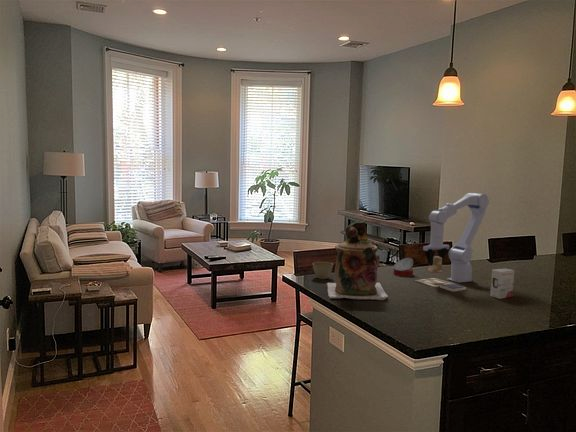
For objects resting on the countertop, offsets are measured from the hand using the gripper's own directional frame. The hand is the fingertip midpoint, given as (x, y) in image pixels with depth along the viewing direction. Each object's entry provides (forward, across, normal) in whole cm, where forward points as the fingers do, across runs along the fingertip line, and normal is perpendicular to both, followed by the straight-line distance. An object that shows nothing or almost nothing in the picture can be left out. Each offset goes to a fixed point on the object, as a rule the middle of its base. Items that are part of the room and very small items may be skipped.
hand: (435, 264), depth 235 cm
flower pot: (+9, +44, -30) cm, 54 cm away
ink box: (+9, -9, +30) cm, 33 cm away
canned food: (+9, +1, -22) cm, 23 cm away
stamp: (+3, 0, 0) cm, 3 cm away
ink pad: (+9, 0, +12) cm, 15 cm away
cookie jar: (+9, +46, +1) cm, 47 cm away
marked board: (+9, 0, 0) cm, 9 cm away
